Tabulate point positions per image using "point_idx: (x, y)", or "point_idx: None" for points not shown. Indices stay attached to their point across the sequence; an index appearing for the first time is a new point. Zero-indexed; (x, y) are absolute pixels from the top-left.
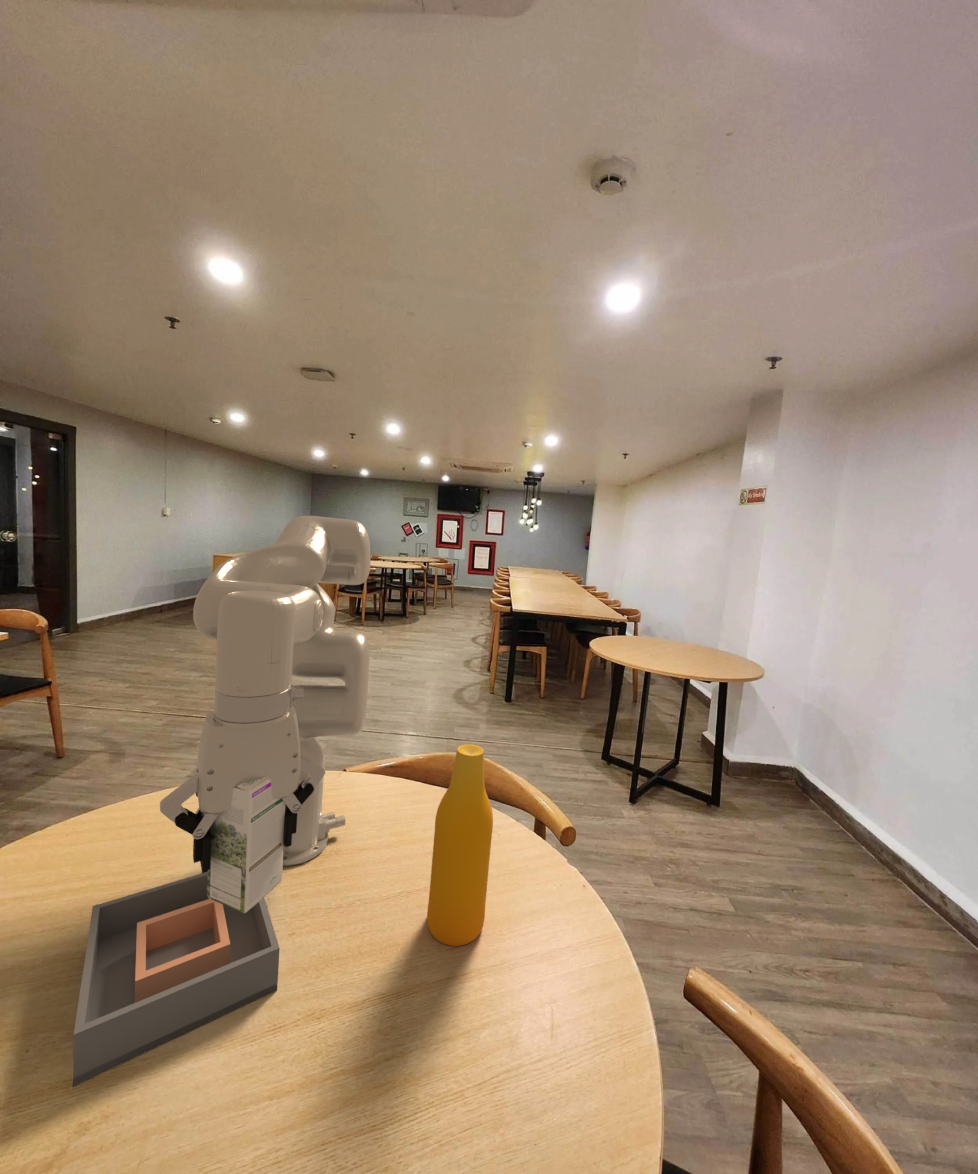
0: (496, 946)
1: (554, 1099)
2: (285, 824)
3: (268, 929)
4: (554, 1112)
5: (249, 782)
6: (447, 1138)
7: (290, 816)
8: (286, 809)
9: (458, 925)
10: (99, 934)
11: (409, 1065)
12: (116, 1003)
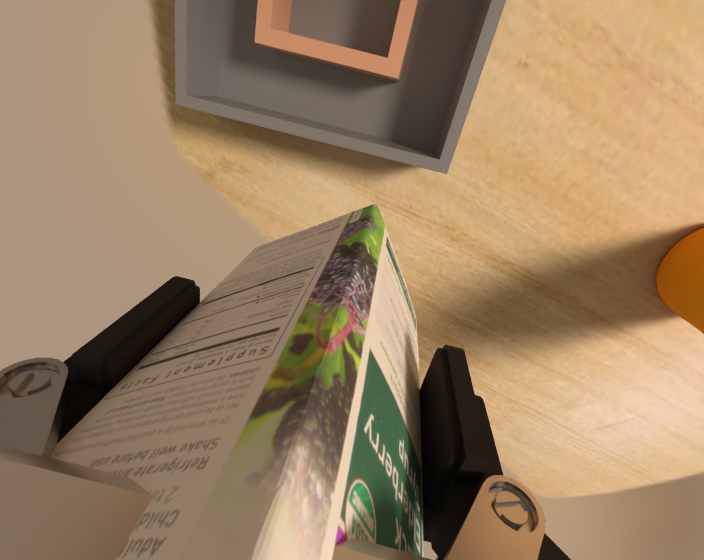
0: (694, 337)
1: (540, 446)
2: None
3: (457, 114)
4: (531, 449)
5: None
6: None
7: (427, 539)
8: (434, 528)
9: (686, 319)
10: None
11: (482, 347)
12: (254, 7)
